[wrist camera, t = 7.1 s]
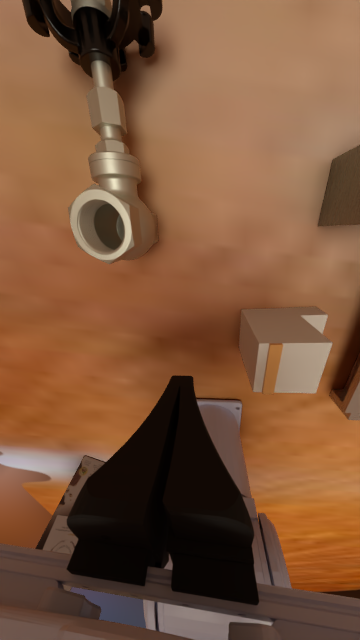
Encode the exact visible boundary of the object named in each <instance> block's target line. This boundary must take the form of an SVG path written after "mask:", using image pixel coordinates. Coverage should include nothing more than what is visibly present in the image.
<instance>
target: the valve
mask: <svg viewBox="0 0 360 640" xmlns="http://www.w3.org/2000/svg"><path fill="white" fill-rule="evenodd" d="M22 2H23V6H24V10H25V15H26V19H27V22H28V24H29V26H30V27H31V28H32V29H33V30H34V31H35V32H36V33H38V34H39V35H41V36H44V37H50V34H49V30H50V31H51V33H52V34H53V36H54V37H55V38H56V40H57V41H58V42H59V43H60V44H61V45H62V46H63V47H65V48H66V49H68V51H69V56H70V58H71V59H72V61H73V62H75V63H76V64H78V65H81V67H82V69H83V70H84V71H85V72H86V74H88V75H89V76H90V77H92V78H93V83H94V88H92V89H91V90H90V91H89V92H88V94H87V101H88V107H89V112H90V118H91V124H92V128H93V129H94V130H95V131H96V132H97V133H98V134H99V135H100V136H101V141H100V142H98V143H97V144H96V145H95V146H96V153H93V154H91V155H90V156H89V157H88V162H89V166H90V172H91V177H92V180H93V181H94V182H96V183H99V186H98V185H96V184H93V185H91V186H90V187H89V188H87V189H86V190H85V191H84V192H82V193H81V194H80V195H79V196H78V197H77V198H76V199H75V200H74V201H73V202H72V204H71V205H70V206H69V208H68V210H69V217H70V222H71V227H72V231H73V234H74V237H75V240H76V243H77V245H78V247H79V248H80V249H82V250H83V251H85V252H86V253H88V254H90V255H92V256H93V257H95V258H97V259H99V260H101V261H103V262H106V263H108V264H111V263H114V262H117V261H120V260H134V259H137V258H139V257H141V256H143V255H144V254H145V253H146V252H147V251H148V250H149V249H150V247H151V246H152V245H153V244H155V243H156V242H158V226H157V215H155V214H154V213H152V212H150V210H149V209H148V207H147V206H146V205H145V204H144V203H143V202H142V201H141V200H140V199H139V197H138V192H137V184H139V183H140V182H141V170H140V162H139V160H138V159H137V158H136V157H134V156H132V155H130V153H129V149H128V147H127V146H126V145H125V144H124V143H122V136H124V135H126V134H127V127H126V118H125V110H124V103H123V101H122V99H121V97H120V95H119V94H118V93H117V92H116V91H114V86H113V81H115V80H116V79H118V78H119V76H120V74H121V72H122V71H125V70H126V69H127V61H126V51H125V47H126V46H128V45H129V44H130V43H131V42H132V41H133V40H135V41H137V43H139V53H140V56H141V57H144V58H147V57H151V56H152V55H153V54H154V51H155V42H154V24H153V21H154V20H156V19H158V18H159V17H160V15H161V13H162V0H113V5H111V1H110V0H71V4H72V9H71V12H70V11H69V10H68V9H67V8H66V7H65V6H64V5H63V4H62V3H61V2H60V0H22ZM144 5H148V6H150V9H151V16H152V17H151V16H150V15H149V14H148V13H147V12H145V11H140V9H141V7H142V6H144ZM48 28H49V29H48Z"/></svg>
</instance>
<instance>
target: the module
mask: <svg viewBox="0 0 360 640" xmlns="http://www.w3.org/2000/svg"><path fill="white" fill-rule="evenodd" d="M327 317H328V314H326V313H325V312H323V311H322V310H320V309H319V308H317V307H294V308H265V309H241V322H240V336H239V350H240V353H241V356H242V360H243V363H244V366H245V369H246V372H247V375H248V378H249V381H250V384H251V387H252V390H253V392H262V394H274V392H278V393H316V391H317V388H318V385H319V382H320V379H321V376H322V373H323V370H324V367H325V364H326V361H327V358H328V355H329V352H330V349H331V346H332V342H331V341H330V340H329V339H328V338H326V337H325V336H324V335H323V330H324V327H325V324H326V320H327Z"/></svg>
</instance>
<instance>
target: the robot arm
mask: <svg viewBox="0 0 360 640" xmlns="http://www.w3.org/2000/svg"><path fill="white" fill-rule="evenodd" d="M241 412H242V402H241V401H237V400H207V399H196V396H195V392H194V385H193V377H192V376H172V377H171V379H170V381H169V384H168V385H167V387H166V389H165V391H164V393H163V394H162V396H161V398H160V399H159V401H158V403H157V404H156V406H155V407H154V408H153V410H152V411H151V413H150V414H149V416H148V417H147V418H146V420H145V421H144V422H143V423H142V425H141V426H140V427H139V428H138V430H137V431H136V432H135V433H134V434H133V435H132V436H131V438H130V439H129V440H128V441H127V442H126V443H125V444H124V445H123V446H122V447H121V448H120V449H119V450H118V451H117V452H116V453H115V454H114V455H113V456H112V457H111V458H110V459H109V460H108V461H107V462H106V463H105V464H103V465H102V466H101V467H100V468H99V469H98V470H97V471H95V472H94V473H93V474H92V475H91V476H90V477H89V478H87V480H86V482H85V483H84V485H83V487H82V489H81V490H80V492H79V494H78V496H77V498H76V500H75V502H74V505H73V507H72V509H71V511H70V513H69V515H68V518H67V526H68V528H69V529H70V530H71V531H72V532H73V534H74V535H75V536H76V537H77V538H78V541H77V544H76V546H75V549H74V551H73V554H65V553H59V552H52V551H46V550H39V549H32V548H26V547H19V546H13V545H7V544H0V640H360V599H356V598H349V597H343V596H337V595H330V594H323V593H317V592H311V591H304V590H298V589H292V588H291V584H290V580H289V576H288V571H287V568H286V564H285V560H284V556H283V552H282V549H281V545H280V542H279V538H278V535H277V532H276V529H275V527H274V525H273V523H272V522H271V521H270V520H269V519H267V516H266V515H265V514H264V513H258V517H257V512H256V507H255V502H254V499H253V498H252V496H251V491H250V486H249V481H248V476H247V470H246V465H245V460H244V455H243V449H242V444H241V439H240V434H239V431H240V422H241ZM258 519H259V522H258ZM259 526H260V527H259ZM63 585H65V586H71V587H76V588H82V589H88V590H93V591H98V592H105V593H110V594H115V595H121V596H126V597H132V598H138V599H143V602H144V616H145V620H146V629H145V628H141V627H135V626H131V625H126V624H121V623H115V622H109V621H104V620H99V617H100V613H101V608H100V607H99V606H97V605H95V604H93V603H91V602H90V601H88V600H87V599H86V598H85V596H84V595H80V594H77V593H73V592H70V591H66V590H64V587H63Z"/></svg>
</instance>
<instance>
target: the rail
mask: <svg viewBox="0 0 360 640" xmlns="http://www.w3.org/2000/svg"><path fill="white" fill-rule="evenodd" d="M355 224H360V145H359V146H357V147H355V148H353V149H351V150H350V151H348V152H346V153H344V154H342V155H340V156H339V157H337V158H335V159H333V161H332V166H331V170H330V175H329V179H328V184H327V188H326V192H325V197H324V201H323V206H322V210H321V214H320V219H319V223H318V226H334V225H355ZM329 396H330V397H331V399H332V400H333V401H334V402H335V404H336V405H337V406H338V408H339V409H340V410H341V411H342V413H343V414H344V415H345V416H346V418H347V419H348V420H360V353H359V355H358V357H357V359H356V362H355V364H354V366H353V369H352V371H351V373H350V376H349V378H348V380H347V382H346V385H345V387H344V389H343V390H334V389H332V390H331V393H330V395H329Z"/></svg>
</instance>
